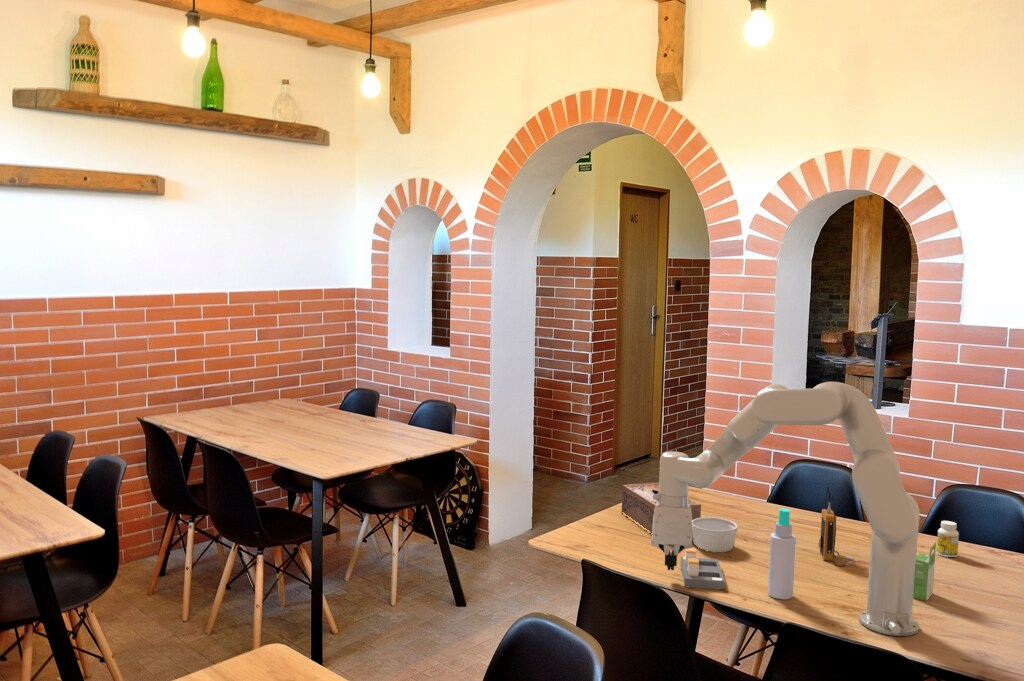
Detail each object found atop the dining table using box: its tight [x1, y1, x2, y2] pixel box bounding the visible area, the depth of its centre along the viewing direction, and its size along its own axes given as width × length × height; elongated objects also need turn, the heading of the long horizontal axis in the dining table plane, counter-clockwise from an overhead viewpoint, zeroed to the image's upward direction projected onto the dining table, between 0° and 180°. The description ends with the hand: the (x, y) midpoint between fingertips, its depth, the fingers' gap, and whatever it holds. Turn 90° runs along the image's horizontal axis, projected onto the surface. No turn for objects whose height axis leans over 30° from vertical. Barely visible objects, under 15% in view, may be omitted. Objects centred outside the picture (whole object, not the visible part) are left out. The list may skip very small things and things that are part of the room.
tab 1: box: [684, 547, 697, 565], centre depth 221 cm, size 3×3×5 cm
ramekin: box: [692, 516, 738, 553], centre depth 240 cm, size 13×13×7 cm
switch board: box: [680, 556, 726, 590], centre depth 217 cm, size 16×10×2 cm, turn 172°
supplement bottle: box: [936, 520, 960, 558], centre depth 237 cm, size 5×5×10 cm
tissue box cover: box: [621, 482, 702, 533], centre depth 260 cm, size 26×14×10 cm, turn 17°
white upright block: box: [687, 557, 699, 576], centre depth 213 cm, size 3×3×5 cm
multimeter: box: [818, 486, 861, 567], centre depth 232 cm, size 15×10×20 cm
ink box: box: [913, 541, 937, 602], centre depth 207 cm, size 7×4×13 cm, turn 141°
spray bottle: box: [767, 508, 797, 600], centre depth 204 cm, size 6×6×22 cm
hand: (670, 568), depth 214 cm, fingers closed
